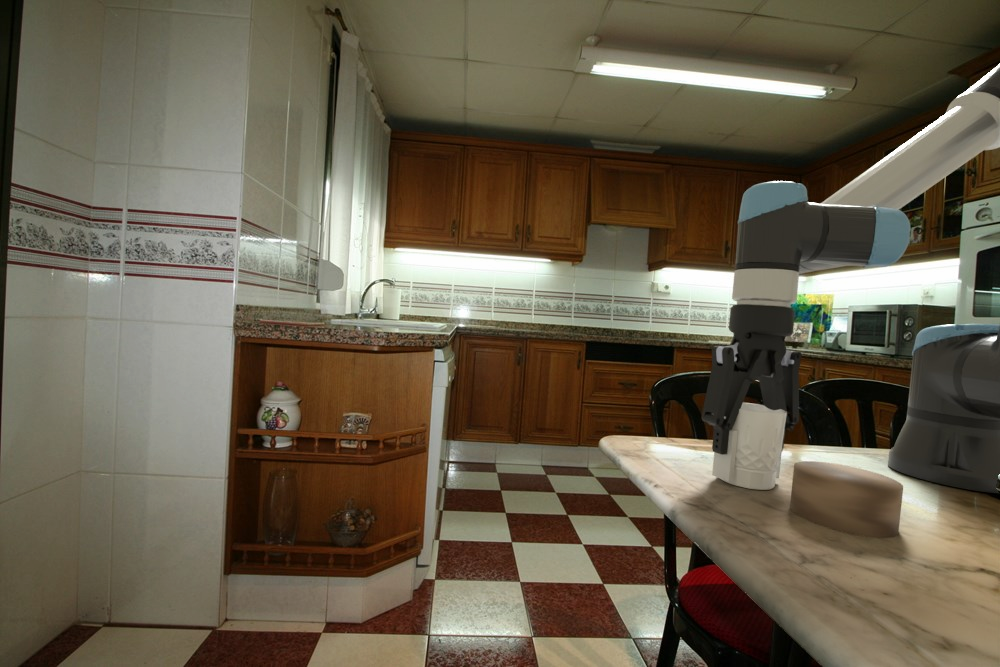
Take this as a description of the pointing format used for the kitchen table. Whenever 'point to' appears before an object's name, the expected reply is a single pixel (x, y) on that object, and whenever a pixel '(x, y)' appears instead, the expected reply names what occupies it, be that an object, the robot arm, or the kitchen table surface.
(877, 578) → the kitchen table surface
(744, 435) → the white cup
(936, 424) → the robot arm
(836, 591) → the kitchen table surface
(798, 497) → the walnut block
